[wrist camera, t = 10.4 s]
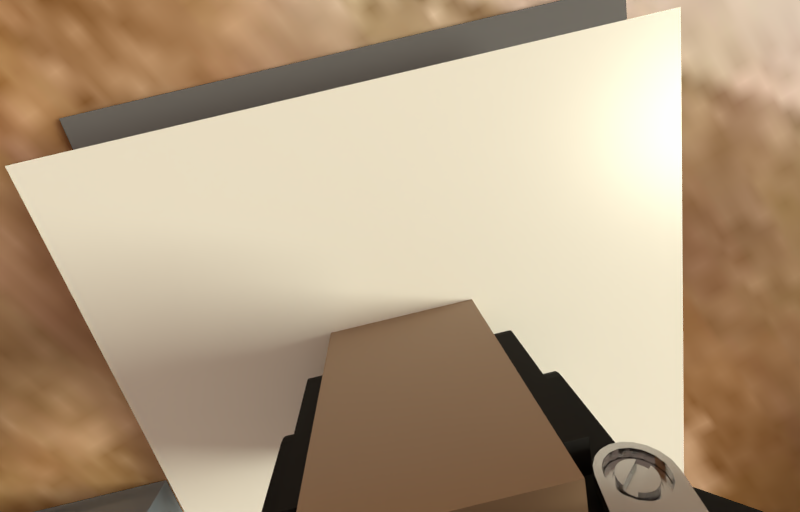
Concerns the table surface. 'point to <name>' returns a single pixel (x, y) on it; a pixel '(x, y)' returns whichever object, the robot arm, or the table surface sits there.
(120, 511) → the open square box
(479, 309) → the lid
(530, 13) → the mat
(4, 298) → the table surface
